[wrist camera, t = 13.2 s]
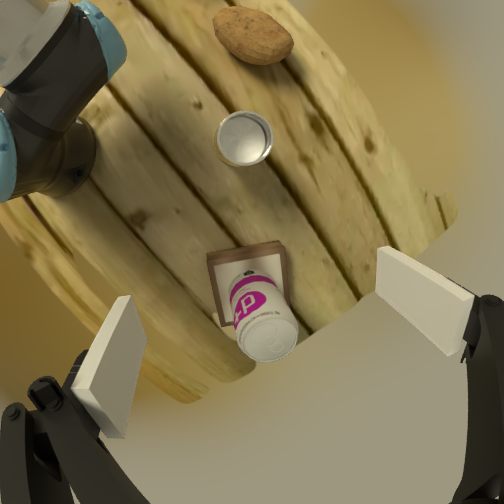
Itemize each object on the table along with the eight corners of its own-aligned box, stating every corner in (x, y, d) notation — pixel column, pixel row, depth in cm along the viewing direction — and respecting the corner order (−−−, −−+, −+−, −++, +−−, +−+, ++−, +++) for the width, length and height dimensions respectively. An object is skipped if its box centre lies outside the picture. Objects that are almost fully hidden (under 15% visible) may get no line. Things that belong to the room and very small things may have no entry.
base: (220, 315, 53) (221, 327, 49) (206, 253, 49) (206, 261, 45) (285, 303, 54) (291, 313, 50) (278, 240, 50) (284, 247, 46)
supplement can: (218, 288, 46) (224, 341, 32) (256, 258, 46) (278, 301, 32) (247, 318, 49) (263, 375, 35) (284, 291, 48) (313, 340, 34)
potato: (231, 10, 35) (235, -12, 27) (295, 48, 39) (309, 31, 32) (198, 43, 37) (197, 24, 29) (265, 83, 41) (276, 69, 33)
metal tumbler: (251, 123, 43) (271, 105, 29) (257, 163, 45) (279, 163, 31) (209, 129, 42) (210, 113, 28) (216, 169, 44) (219, 171, 30)
